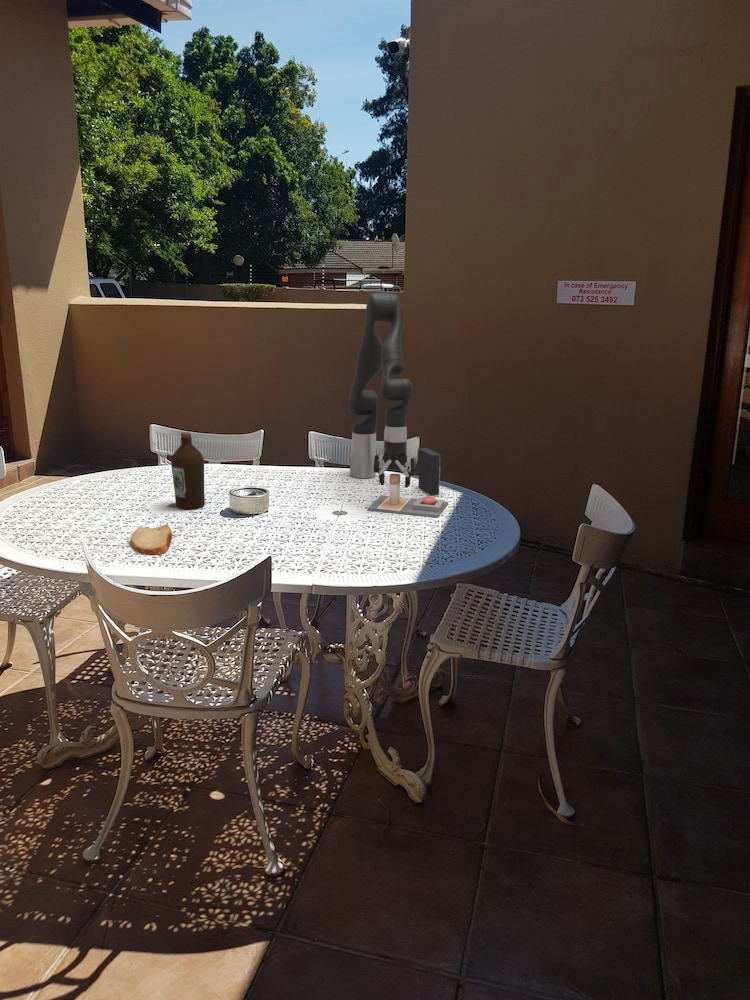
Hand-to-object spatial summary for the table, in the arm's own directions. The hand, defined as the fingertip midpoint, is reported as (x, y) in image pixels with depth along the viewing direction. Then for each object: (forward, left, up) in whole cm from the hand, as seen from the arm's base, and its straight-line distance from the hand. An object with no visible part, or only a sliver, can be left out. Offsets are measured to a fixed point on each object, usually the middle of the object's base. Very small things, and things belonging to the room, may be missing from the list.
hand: (394, 485), depth 253 cm
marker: (0, 0, -6) cm, 6 cm away
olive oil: (-65, -23, -7) cm, 69 cm away
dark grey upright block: (+7, +21, -7) cm, 23 cm away
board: (+5, 0, -7) cm, 9 cm away
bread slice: (-56, -57, -8) cm, 81 cm away
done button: (+12, 0, -5) cm, 13 cm away
